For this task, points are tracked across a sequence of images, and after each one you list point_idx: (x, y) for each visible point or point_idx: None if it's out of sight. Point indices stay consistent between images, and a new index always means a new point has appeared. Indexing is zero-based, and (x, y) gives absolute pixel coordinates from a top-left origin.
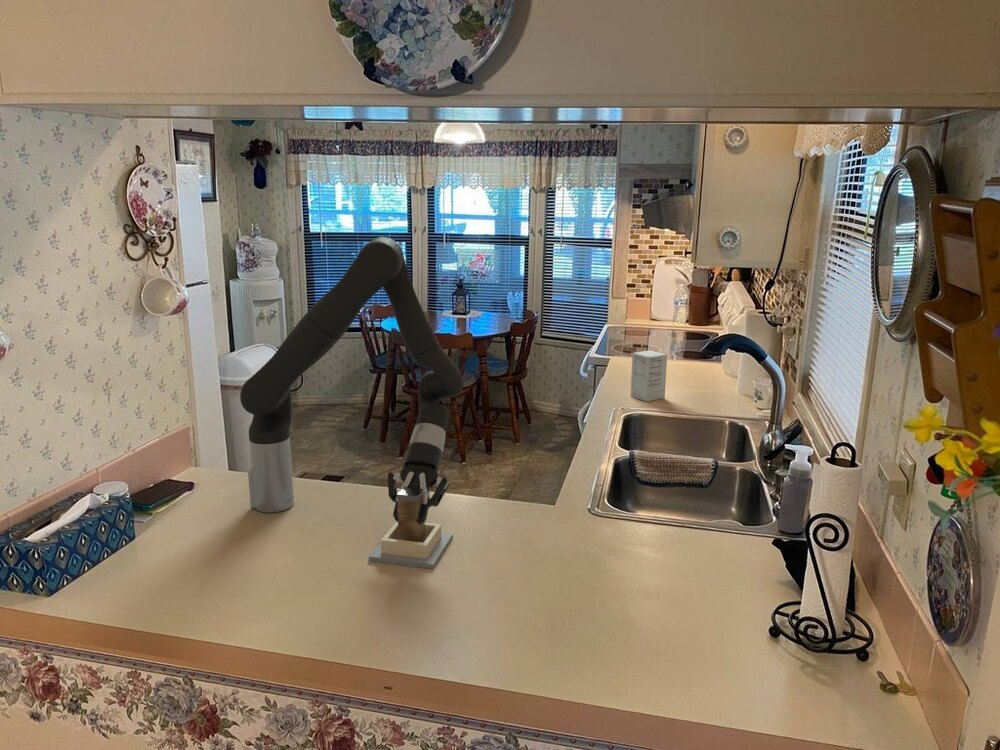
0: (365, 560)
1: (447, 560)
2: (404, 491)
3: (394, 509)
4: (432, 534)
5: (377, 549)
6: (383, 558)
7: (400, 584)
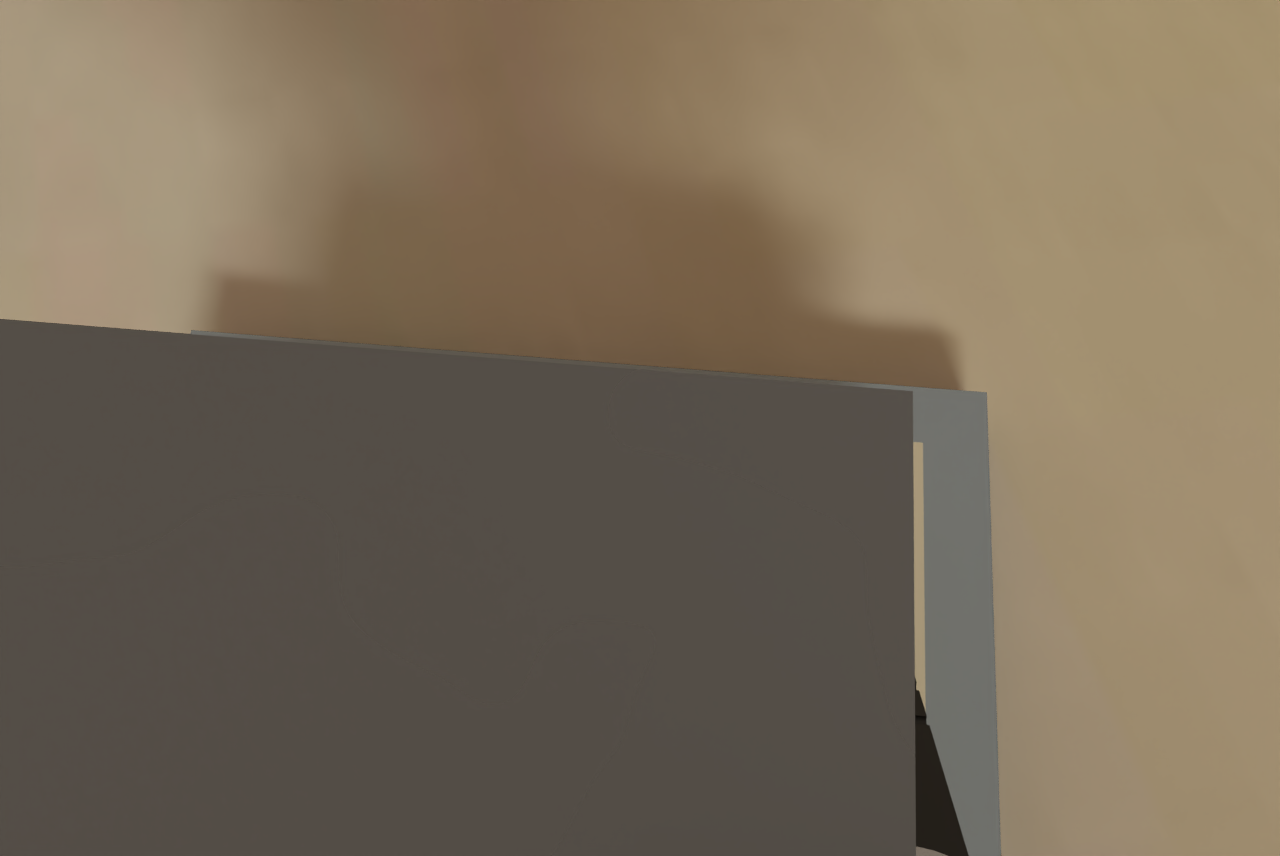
0: (1008, 417)
1: None
2: (668, 760)
3: (918, 723)
4: None
5: (955, 574)
6: (800, 380)
7: (494, 48)
